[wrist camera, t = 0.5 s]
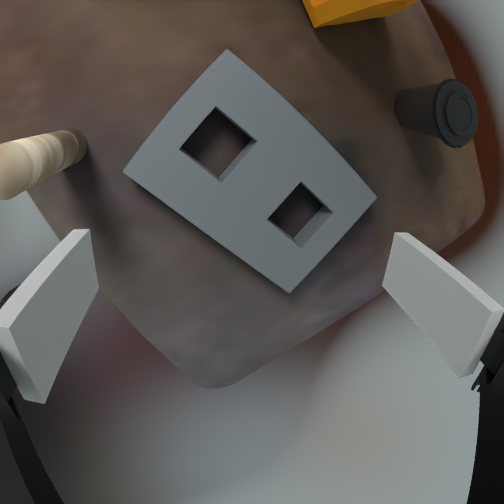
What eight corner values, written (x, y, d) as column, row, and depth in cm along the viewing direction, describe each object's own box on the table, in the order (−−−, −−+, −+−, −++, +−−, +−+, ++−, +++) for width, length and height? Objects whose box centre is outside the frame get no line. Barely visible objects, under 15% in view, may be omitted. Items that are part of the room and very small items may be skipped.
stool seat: (127, 166, 32) (122, 171, 29) (223, 54, 29) (227, 48, 26) (282, 281, 42) (289, 293, 39) (364, 191, 39) (377, 197, 36)
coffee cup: (424, 76, 33) (477, 77, 24) (435, 131, 37) (486, 143, 28) (379, 83, 33) (432, 81, 24) (392, 143, 37) (444, 156, 28)
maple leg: (68, 120, 28) (-3, 131, 15) (94, 141, 30) (36, 162, 17) (48, 152, 29) (-25, 181, 16) (74, 172, 31) (11, 212, 17)
